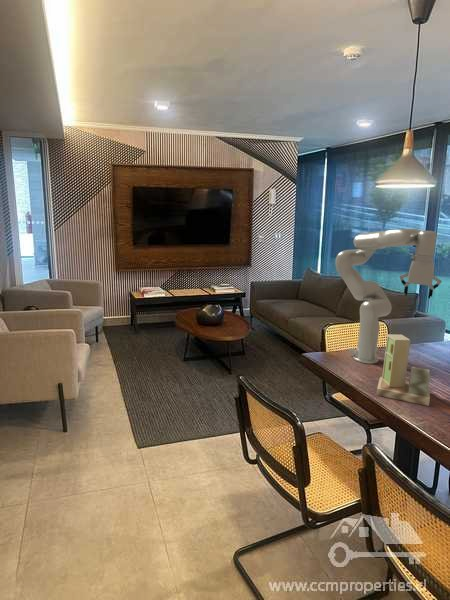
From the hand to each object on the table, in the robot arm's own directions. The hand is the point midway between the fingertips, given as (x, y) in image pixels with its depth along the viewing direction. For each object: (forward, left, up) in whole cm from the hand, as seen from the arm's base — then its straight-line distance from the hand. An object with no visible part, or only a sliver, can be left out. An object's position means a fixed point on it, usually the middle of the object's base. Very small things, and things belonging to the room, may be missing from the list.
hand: (417, 296), depth 193 cm
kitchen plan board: (-1, -23, -38) cm, 45 cm away
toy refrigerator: (-5, -23, -35) cm, 42 cm away
